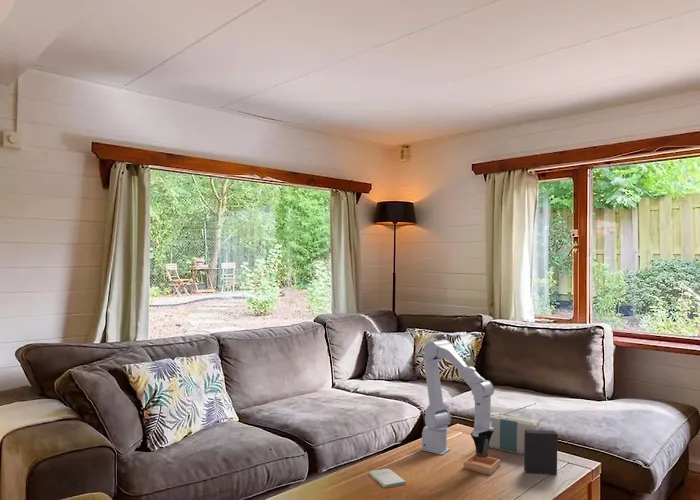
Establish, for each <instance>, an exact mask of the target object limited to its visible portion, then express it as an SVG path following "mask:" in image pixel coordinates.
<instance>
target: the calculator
mask: <svg viewBox="0 0 700 500" xmlns="http://www.w3.org/2000/svg"><path fill="white" fill-rule="evenodd" d="M558 445H559V434H558V433H557V432H556V431H555V430H540V429H539V430H525V434H524V455H523V457H524V458H523V461H524V462H523V470H524V472H525V474H528V475H545V476H546V475H547V476H548V475H549V476H557V475H558Z"/></svg>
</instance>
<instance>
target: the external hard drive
mask: <svg viewBox="0 0 700 500" xmlns="http://www.w3.org/2000/svg"><path fill="white" fill-rule="evenodd" d="M369 474H370V475H371V476H370V475H369ZM368 475H369V476H370V477H371V478H372V479H374V480H375V479H376V480H377V481H378V482H379V483H378V482H377V481H376V480H375V481H376V482H377V483H378V484H379V485H380V486H382V487H383V488H384V487H385V488H384V489H387V488H386V487H388V488H393V487H398V486H403V485H407V482H406V480H404V479H403V478H402V477H401V476H399V475H398V474H397V473H395V472H394V471H393V470H391V469H390V468H383V469H377V470H371V471H369V472H368Z"/></svg>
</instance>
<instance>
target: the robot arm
mask: <svg viewBox="0 0 700 500" xmlns="http://www.w3.org/2000/svg"><path fill="white" fill-rule="evenodd" d="M423 351H424V358H423V363H424V371H425V379H426V388H427V395H428V403H429V404H428V406H427V407H426V409H425V411H424V412H425V416H424V424H425V426H424V427H423V429H422V432H421V448H420V450H421V451H425V452H430V453H431V454H432V453H433V454H436V455H442V456H443V455H444V454H445V453H447V452H449V451H450V450H451V447H448V445H447V443H448V441H447V438H448V437H447V435H448V433H447V432H448V430H447V429H448V428H449V425H450V424H451V421H452V416H451V413H450V412H449V407H448V406H447V405H446V404H445V403H444V399H443V391H442V384H441V383H442V382H441V377H440V370H439V369H440V368H439V363H440V362H441V361H442V360H444V359H445V360H447V361H448V362H449V363H450V364H452V366H453V367H455V368H456V370H458V371H459V372H460V378H461V379H462V380H463V381H464V382H465V383H466V384H467V385H468V387H469V388H470V389H471V390H470V391H471V394H472V397H473V401H474V425H473V429H472V432H471V433H470V437H471V439H472V440H473V442H474V446H475V452H476V451H477V453H481V454H482V453H483V450H484V443H485V440H486V438H488V446H489V442H490V438H491V436H492V434H493V432H494V430H493V429H494V428H493V427H492V422H490V416H491V412H492V410H491V406H492V405H491V403H492V401H491V400H492V399H491V396H493V394H494V393H495V392H494V391H495V388H494V385H493V383H492V381H491V380H486V379H485V378H484V377H483V376H481V375H480V374H479V373H478V371H476V368H475V367H474V366H468V365H467V364H466V363H465V362H464V360H463V359H462V358H461V356H460V355H459V354H458V353H457V351H456V350H455V348H454V345H453V344H452V343H451V341H449V340H448V339H445V338H443V339H440V340H430V341H428V342H427V343H426V344H424V347H423Z"/></svg>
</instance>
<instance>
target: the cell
mask: <svg viewBox="0 0 700 500" xmlns="http://www.w3.org/2000/svg"><path fill="white" fill-rule="evenodd" d="M475 454H476V456H477V457H481V458H486V457H489V447H488V438H486V440H485V443H484V450H483V453H482V454H481V453H477V451H476V450H475Z"/></svg>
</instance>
